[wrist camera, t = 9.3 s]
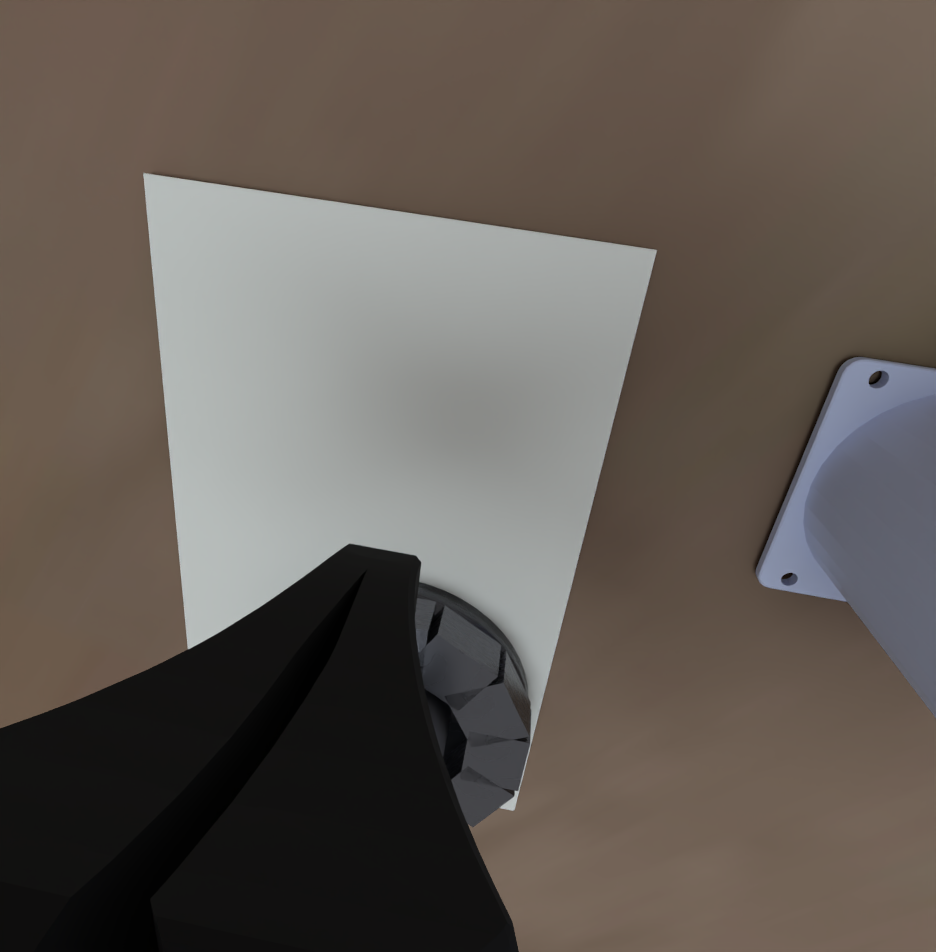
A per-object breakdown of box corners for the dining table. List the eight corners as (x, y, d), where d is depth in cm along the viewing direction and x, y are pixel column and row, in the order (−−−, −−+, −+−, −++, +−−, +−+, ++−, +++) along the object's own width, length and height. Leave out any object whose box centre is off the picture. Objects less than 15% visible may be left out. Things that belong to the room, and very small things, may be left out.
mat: (654, 249, 17) (656, 250, 16) (514, 802, 27) (514, 810, 27) (151, 173, 17) (143, 173, 17) (201, 738, 28) (197, 745, 27)
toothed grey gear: (552, 605, 22) (552, 654, 19) (504, 801, 26) (500, 859, 24) (265, 553, 22) (232, 593, 20) (269, 753, 27) (242, 805, 25)
